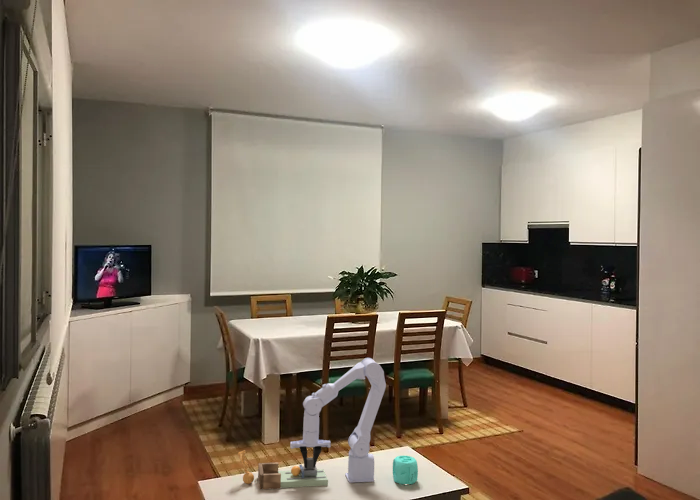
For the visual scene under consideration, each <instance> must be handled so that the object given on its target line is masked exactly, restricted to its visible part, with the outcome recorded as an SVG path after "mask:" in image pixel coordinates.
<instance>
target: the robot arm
mask: <svg viewBox="0 0 700 500" xmlns="http://www.w3.org/2000/svg"><path fill="white" fill-rule="evenodd" d="M366 378H367V380H368V382H369V383H370V385H371V386H370V389H369V392H368V395H367V398H366V400H365V404H364V406H363V409H362V412H361V415H360V419H359V421H358V423H357V426H355V428H354V430H353V431H352V433H351V434H350V436H349V437H348V440H347V444H348V446H349V447H350V449H349V451H348V463H347V465H348V466H347V472H345V474H344V475H345V477H346V479H347V481H348V483H351V484H352V483H367V482H368V483H370V482H371V483H372V482H375V456H374V454H373V453H369V452H370V447H371V446H370V442H371V431H372V429H373V426H374V423H375V420H376V416H377V414H378V411H379V408H380V405H381V404H382V403H381V402H382V399H383V396H384V394H385V391H386V388H387V384H386V379H385V371H384V369H383V368H382V366H381V364H379V363H378V362H376V361H375V360H374V359H373V358H371V357H365V358H364V359H362V360H361V361H359V362H357V363H356V364H355V365H354V366H353V367H352V368H350V369H349V370H348V371H347V372H346V373H344V374H343V375H342V376H340V377H339V378H338V379H337V380H335V381H334V382H333V383H331V382H330V383H328V382H327V383H324V384H322V385H321V386H322V387H321V388H320V389H318V390H317V391H316V392H312V393H311V395H308V396H306V397H305V399H304V400H303V402H302V406H303V408H304V413H303V427H302V430H303V431H302V439H300V440H296V441H295V440H294V441H290V444H289V445H290V449H298V448H299V451H300V453H301V455H302V461H303V466H304V467H305V468H307V458H308V448H312V457H313V459H314V465H313V466H314V468H315V466H316V464H317V462H318V459H319V456H320V455H321V454H322V449H323V448H331V444H332V443H331V440H330V439H329V440H326V439H325V440H324V439H319V437H320V436H319V435H320V417H319V416H320V413H321V411H322V408H323V407H324V406H326V405H327V404H329V403H330V402H331V401H333V400H334V399H336V398H337V397H338V394H339V391H340V390H342V389H345V387H347V386H348V385H349V384H352V383H353V382H355V380H366ZM316 467H317V466H316Z"/></svg>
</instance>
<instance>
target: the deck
mask: <svg viewBox="0 0 700 500" xmlns="http://www.w3.org/2000/svg"><path fill="white" fill-rule="evenodd" d="M278 473H281V487H280V489H281V488H285V489H286V488H301V487H302V488H305V487H319V486H320V487H322V486H326V487H327V486H328V485H329V479H328V476H327V475H326V471H325V469H324V468H322V469H321V468H320V469H318V468H317V476H304V478H302V477H301V474H299V475H298V476H293V475H292V473H291V470H278Z"/></svg>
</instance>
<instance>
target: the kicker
mask: <svg viewBox="0 0 700 500" xmlns="http://www.w3.org/2000/svg"><path fill="white" fill-rule="evenodd" d="M313 465H314V459H313V456H312V457H307V468H305V467H304V465H302V464H299V465H298V467H300V469H301V472H300V474H301V477H302V478H304V476H317V469H318V468H317V466H315V468H314V466H313Z"/></svg>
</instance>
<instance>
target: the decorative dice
mask: <svg viewBox="0 0 700 500" xmlns="http://www.w3.org/2000/svg"><path fill="white" fill-rule="evenodd" d="M392 461H393V462H392V477H393V481H394V482H395V483H397V484H398V483H399V485H402V484H411V485H413V484H415V483H417V481H418V477H419V476H418V475H419V473H418V472H419V468H418V461H417V459H416V458H415V457H413V456H410V455H398V456H395V457H394V458H393V460H392Z"/></svg>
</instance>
